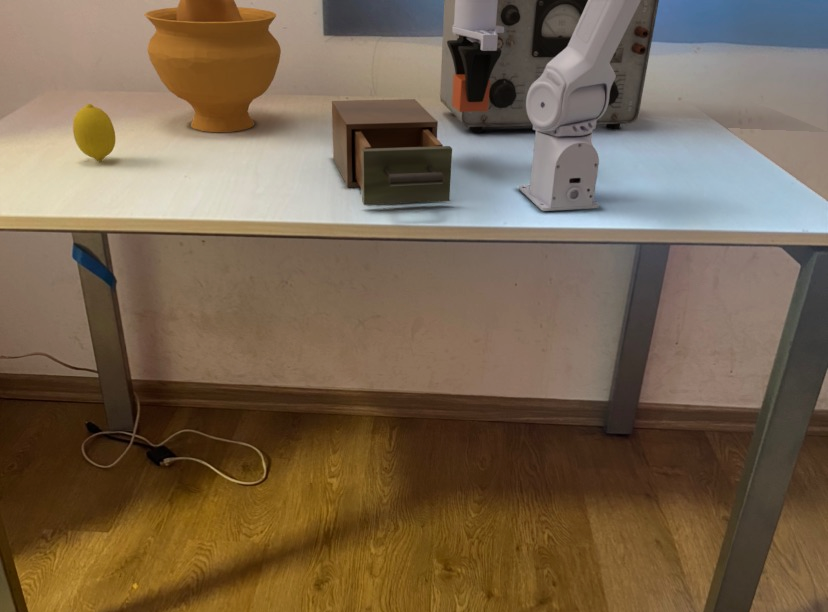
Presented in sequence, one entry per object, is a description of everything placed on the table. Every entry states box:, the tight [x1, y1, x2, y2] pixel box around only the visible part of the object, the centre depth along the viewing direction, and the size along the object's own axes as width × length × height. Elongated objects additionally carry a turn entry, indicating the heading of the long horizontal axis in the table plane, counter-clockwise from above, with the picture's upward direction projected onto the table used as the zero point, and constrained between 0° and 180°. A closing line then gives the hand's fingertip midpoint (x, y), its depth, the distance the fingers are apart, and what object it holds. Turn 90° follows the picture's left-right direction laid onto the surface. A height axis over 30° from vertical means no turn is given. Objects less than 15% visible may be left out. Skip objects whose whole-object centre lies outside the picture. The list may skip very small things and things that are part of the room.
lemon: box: [72, 103, 116, 163], centre depth 113 cm, size 6×6×8 cm
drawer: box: [352, 127, 453, 206], centre depth 103 cm, size 18×11×7 cm, turn 13°
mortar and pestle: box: [144, 0, 282, 133], centre depth 127 cm, size 21×21×30 cm
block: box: [452, 74, 490, 112], centre depth 113 cm, size 4×4×4 cm
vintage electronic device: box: [439, 0, 660, 134], centre depth 135 cm, size 32×18×25 cm, turn 101°
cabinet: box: [331, 98, 439, 188], centre depth 113 cm, size 14×12×8 cm
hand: (470, 97), depth 113 cm, fingers closed on block, 4 cm apart
